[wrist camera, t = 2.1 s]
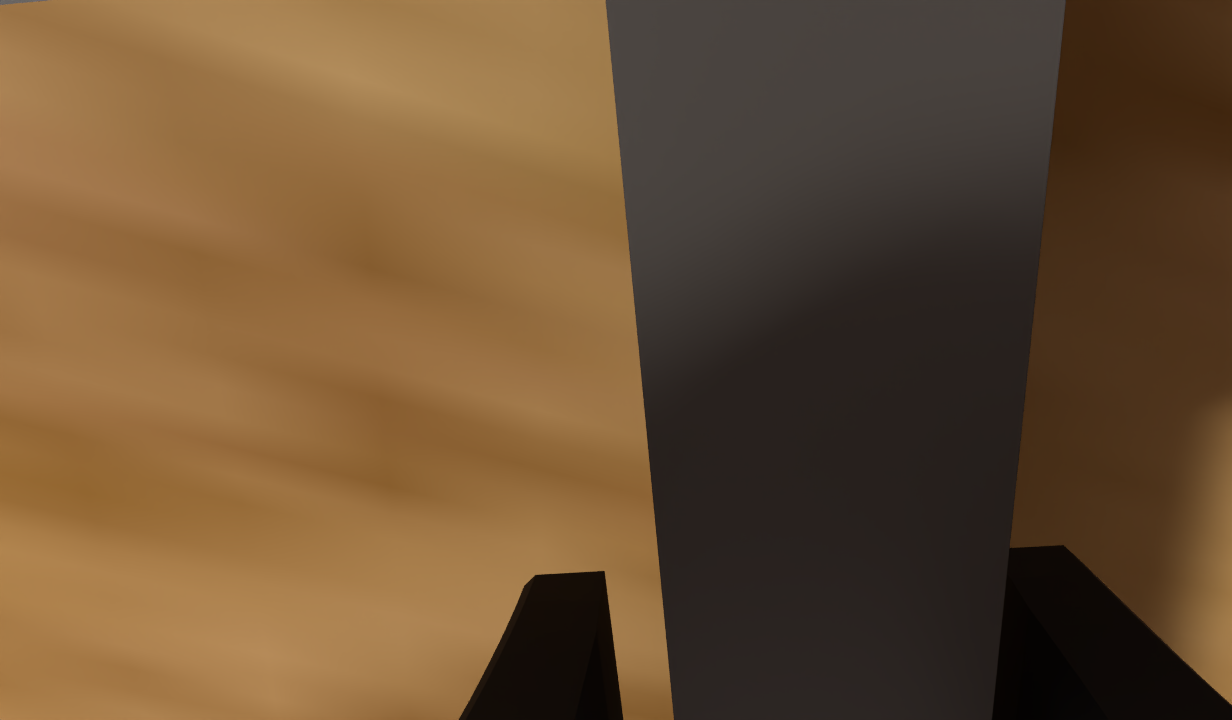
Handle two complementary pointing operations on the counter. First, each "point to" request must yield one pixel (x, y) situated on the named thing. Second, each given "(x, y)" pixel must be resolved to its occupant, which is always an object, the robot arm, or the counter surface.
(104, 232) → the counter surface
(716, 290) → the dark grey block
